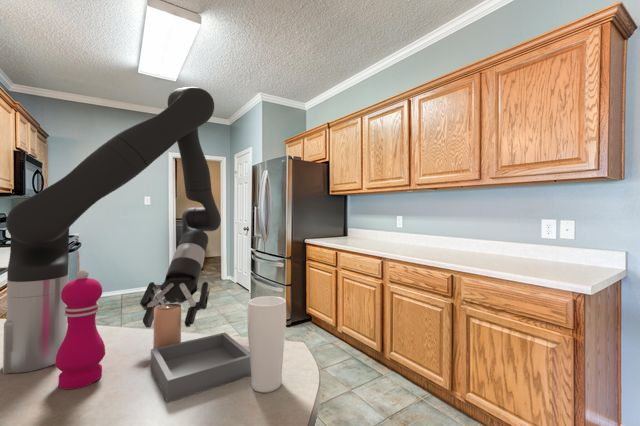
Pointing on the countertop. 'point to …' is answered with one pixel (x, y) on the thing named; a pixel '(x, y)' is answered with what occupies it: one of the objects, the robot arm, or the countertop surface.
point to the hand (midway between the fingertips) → (167, 325)
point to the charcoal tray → (199, 365)
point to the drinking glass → (266, 341)
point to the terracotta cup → (167, 325)
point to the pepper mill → (80, 334)
